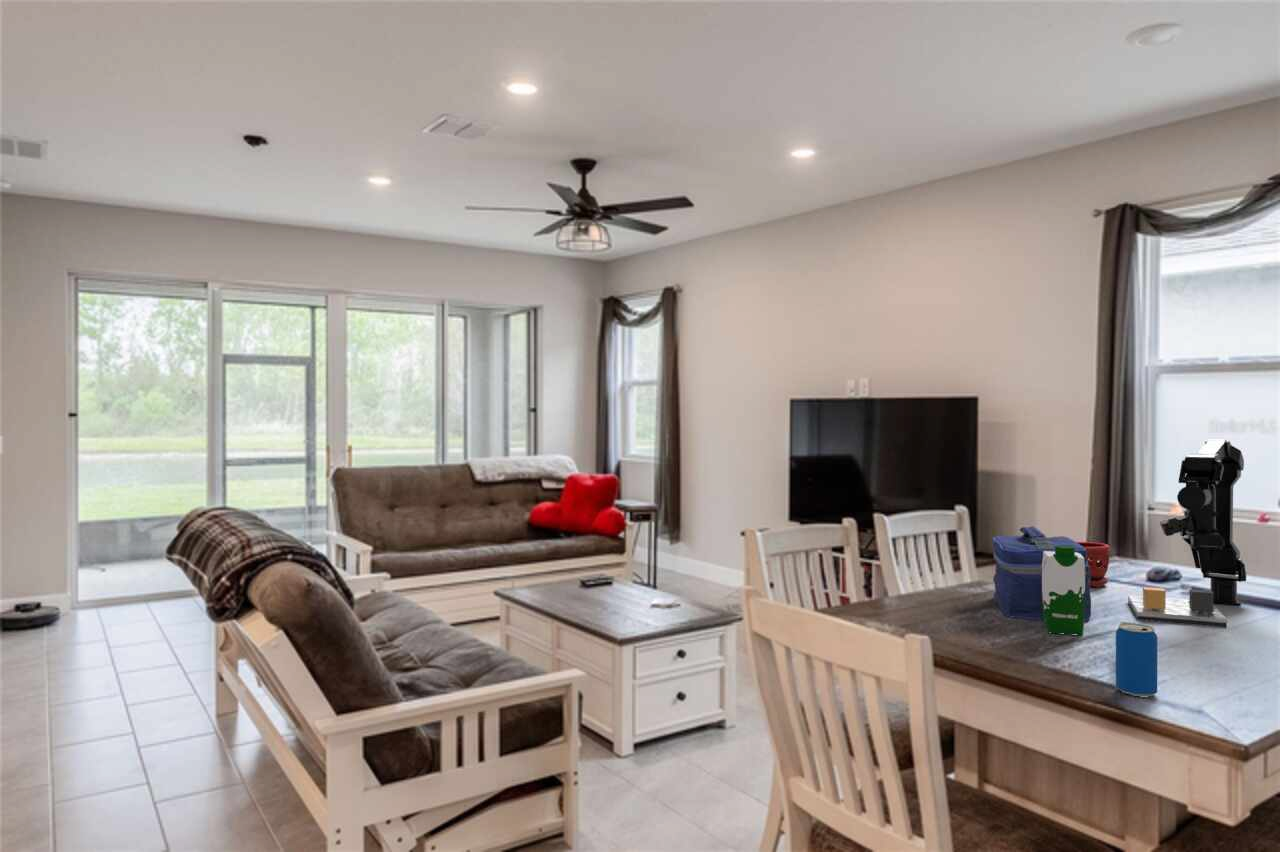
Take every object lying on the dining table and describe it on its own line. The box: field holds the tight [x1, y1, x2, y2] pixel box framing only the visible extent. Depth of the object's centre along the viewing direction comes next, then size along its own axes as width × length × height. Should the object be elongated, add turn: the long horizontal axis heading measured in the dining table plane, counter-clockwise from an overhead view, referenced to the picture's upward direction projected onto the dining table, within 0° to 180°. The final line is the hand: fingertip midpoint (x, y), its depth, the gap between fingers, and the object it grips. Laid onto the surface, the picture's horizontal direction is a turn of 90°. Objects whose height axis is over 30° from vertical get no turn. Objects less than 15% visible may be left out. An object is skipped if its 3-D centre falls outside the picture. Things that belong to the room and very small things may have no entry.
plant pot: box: [1076, 541, 1110, 588], centre depth 243 cm, size 13×13×12 cm
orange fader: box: [1142, 586, 1167, 611], centre depth 204 cm, size 3×4×6 cm
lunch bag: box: [992, 526, 1092, 622], centre depth 215 cm, size 31×21×20 cm
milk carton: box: [1042, 545, 1085, 636], centre depth 192 cm, size 9×9×20 cm
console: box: [1127, 594, 1228, 628], centre depth 207 cm, size 20×18×2 cm
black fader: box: [1189, 589, 1215, 615], centre depth 201 cm, size 3×4×6 cm
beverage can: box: [1115, 622, 1158, 697], centre depth 150 cm, size 6×6×12 cm
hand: (1201, 570), depth 201 cm, fingers open, 7 cm apart
